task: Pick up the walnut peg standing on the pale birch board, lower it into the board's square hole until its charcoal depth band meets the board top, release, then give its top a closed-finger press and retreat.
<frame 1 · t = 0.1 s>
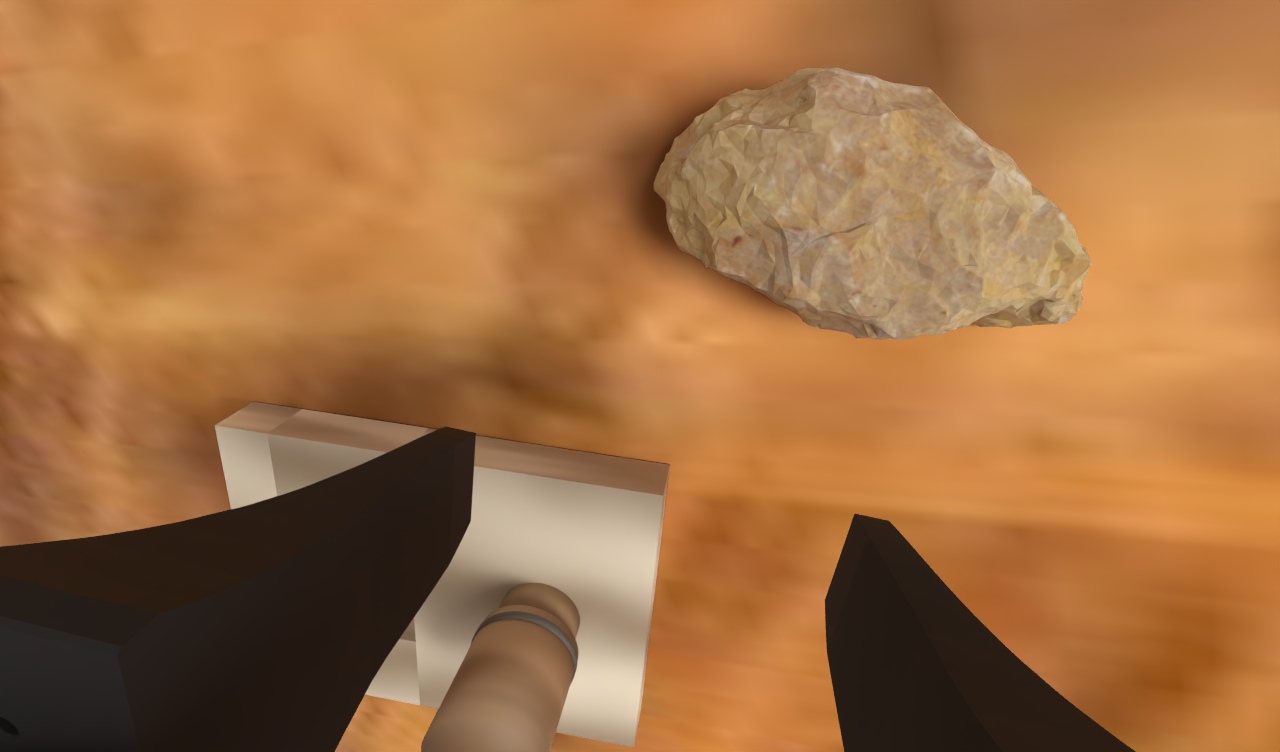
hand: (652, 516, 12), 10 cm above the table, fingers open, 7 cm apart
stone tool: (859, 206, 20), on the table
peg: (540, 615, 25), point 2 cm above the table, touching board
board: (458, 562, 27), on the table
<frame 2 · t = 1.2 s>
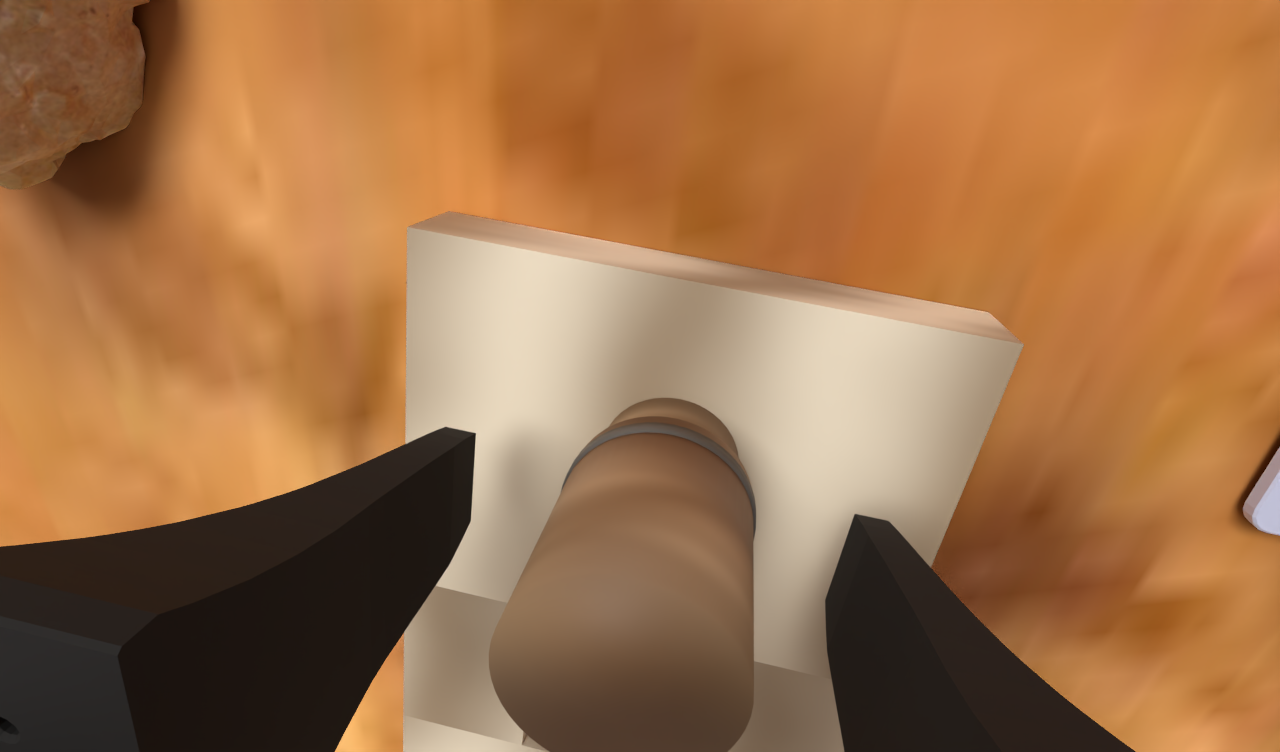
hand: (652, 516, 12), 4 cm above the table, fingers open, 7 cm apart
peg: (668, 460, 14), point 2 cm above the table, touching board
board: (652, 550, 18), on the table
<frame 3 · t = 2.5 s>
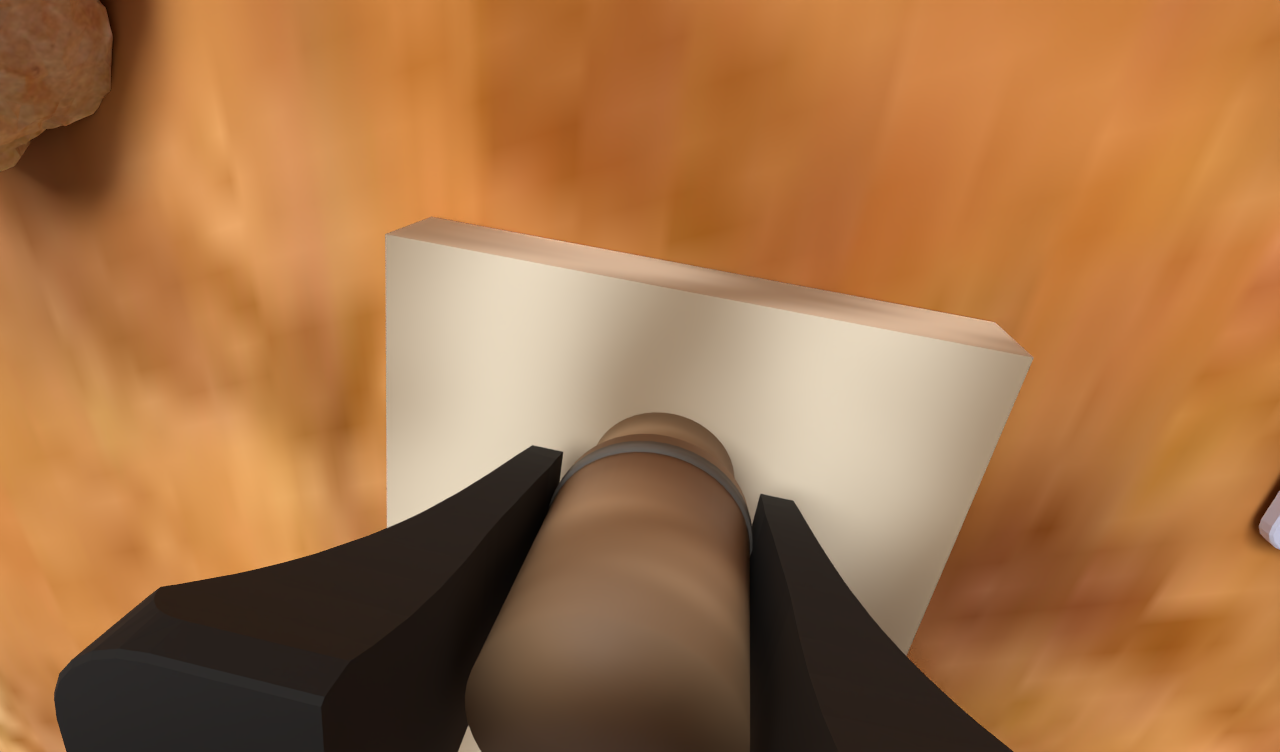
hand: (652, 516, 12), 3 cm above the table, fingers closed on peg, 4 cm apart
peg: (661, 477, 14), point 2 cm above the table, touching board, gripper
board: (645, 567, 17), on the table
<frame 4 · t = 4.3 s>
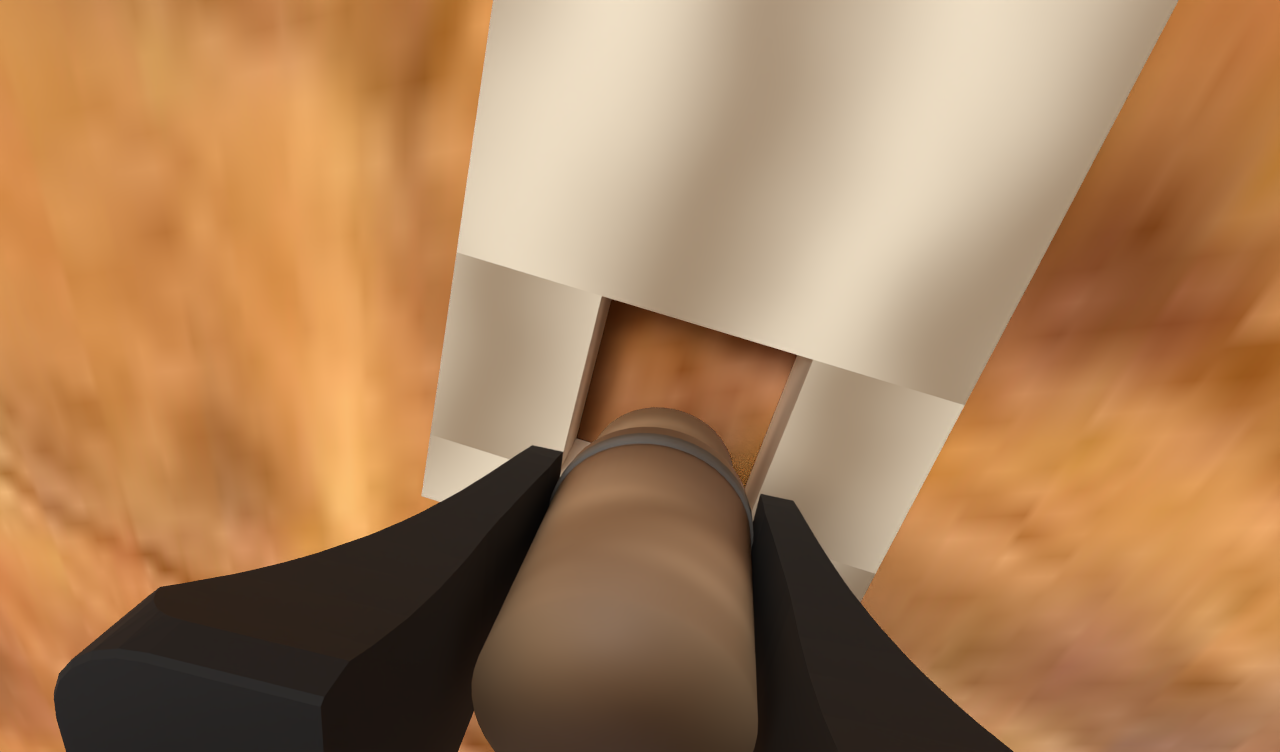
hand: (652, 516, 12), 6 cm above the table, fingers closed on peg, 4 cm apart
peg: (660, 473, 14), point 5 cm above the table, touching gripper
board: (723, 265, 16), on the table
when the fingers open (2 cm above the table, at t = 5.8 s): peg stays where it is, resting in board.
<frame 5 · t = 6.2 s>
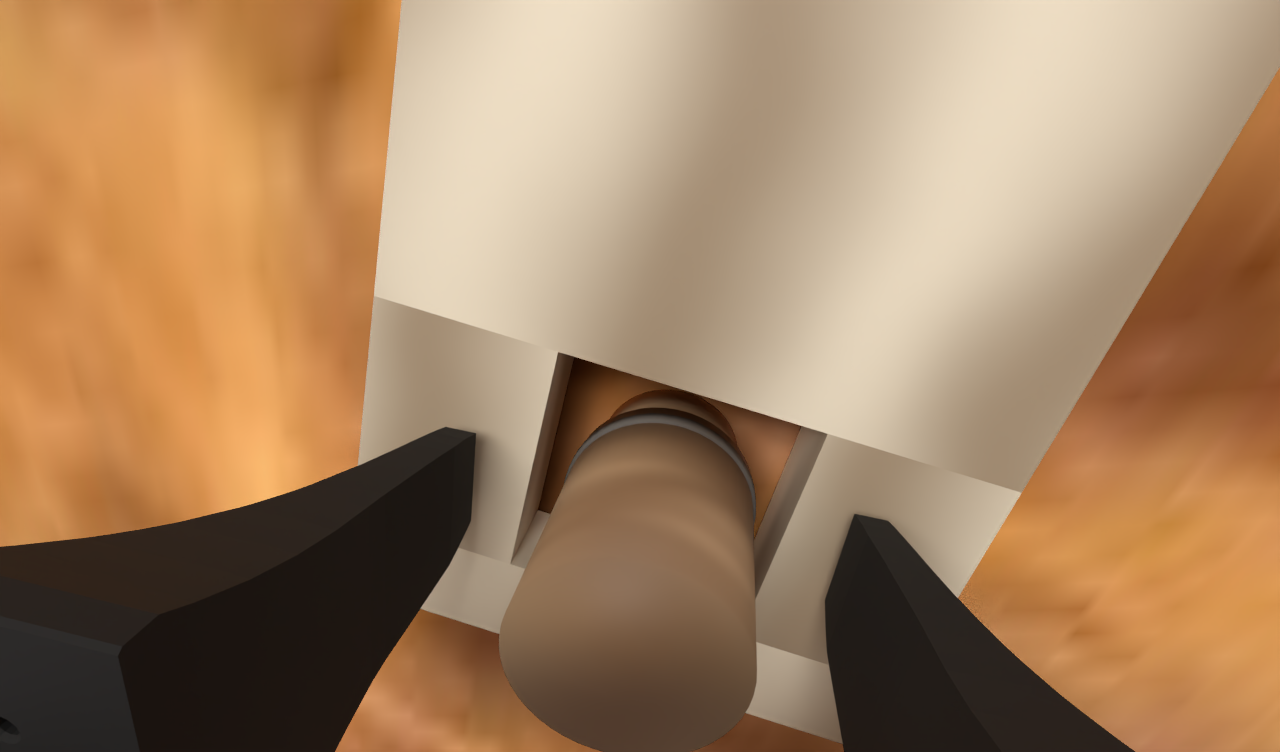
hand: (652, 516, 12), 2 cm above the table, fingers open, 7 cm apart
peg: (668, 451, 15), resting in board
board: (714, 308, 13), on the table
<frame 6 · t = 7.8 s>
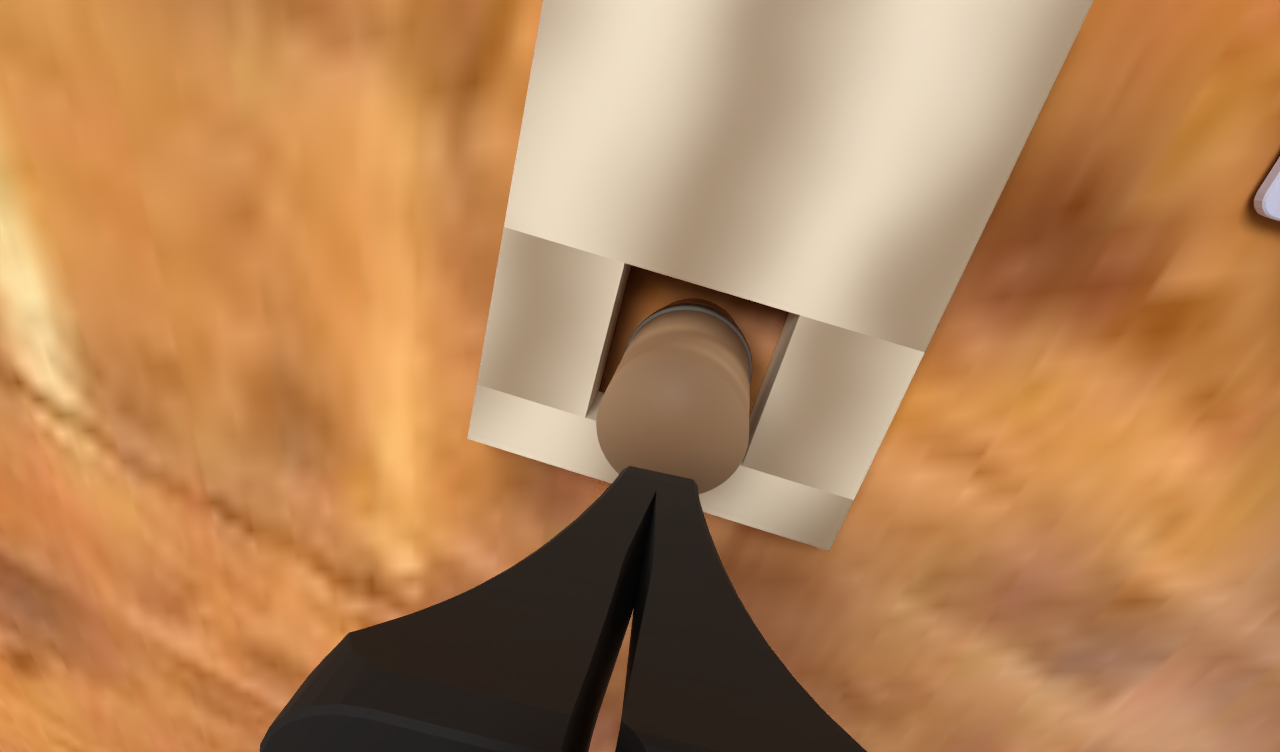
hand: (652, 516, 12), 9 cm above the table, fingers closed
peg: (693, 344, 21), resting in board
board: (725, 239, 20), on the table
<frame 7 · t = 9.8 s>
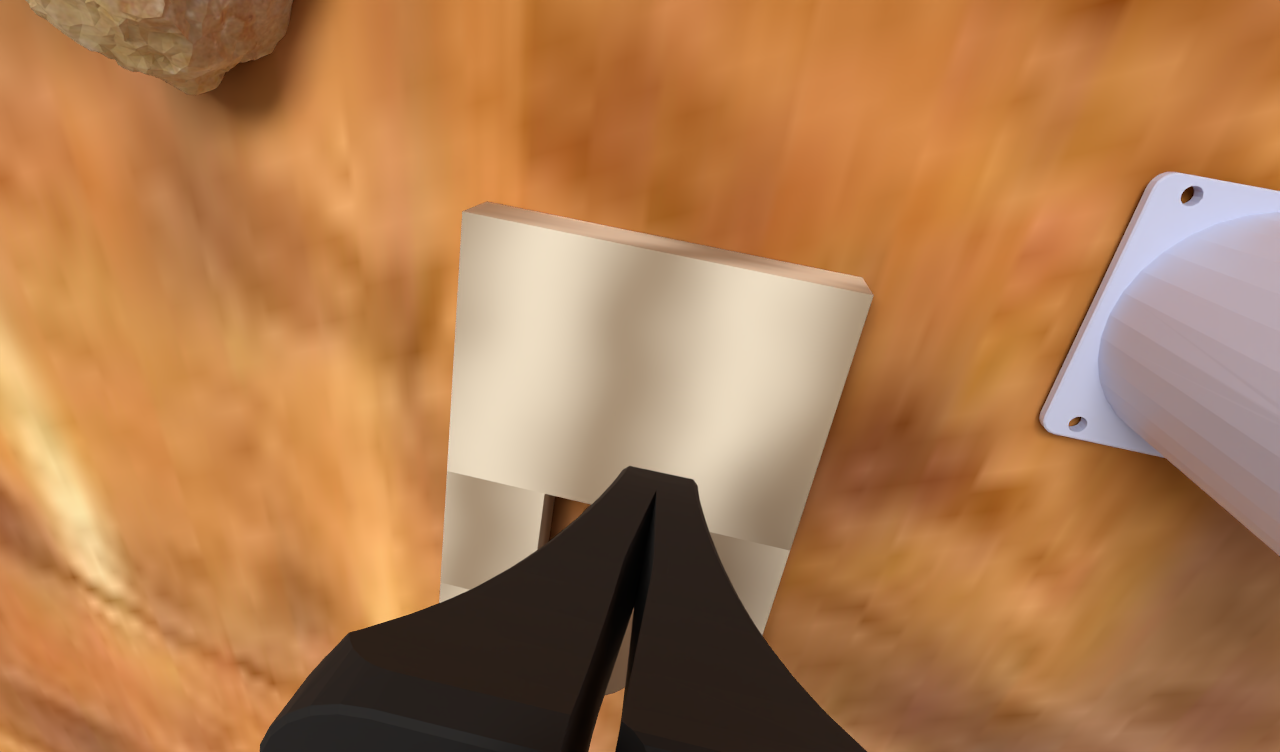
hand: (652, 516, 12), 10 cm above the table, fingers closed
peg: (616, 532, 25), resting in board
board: (629, 456, 24), on the table
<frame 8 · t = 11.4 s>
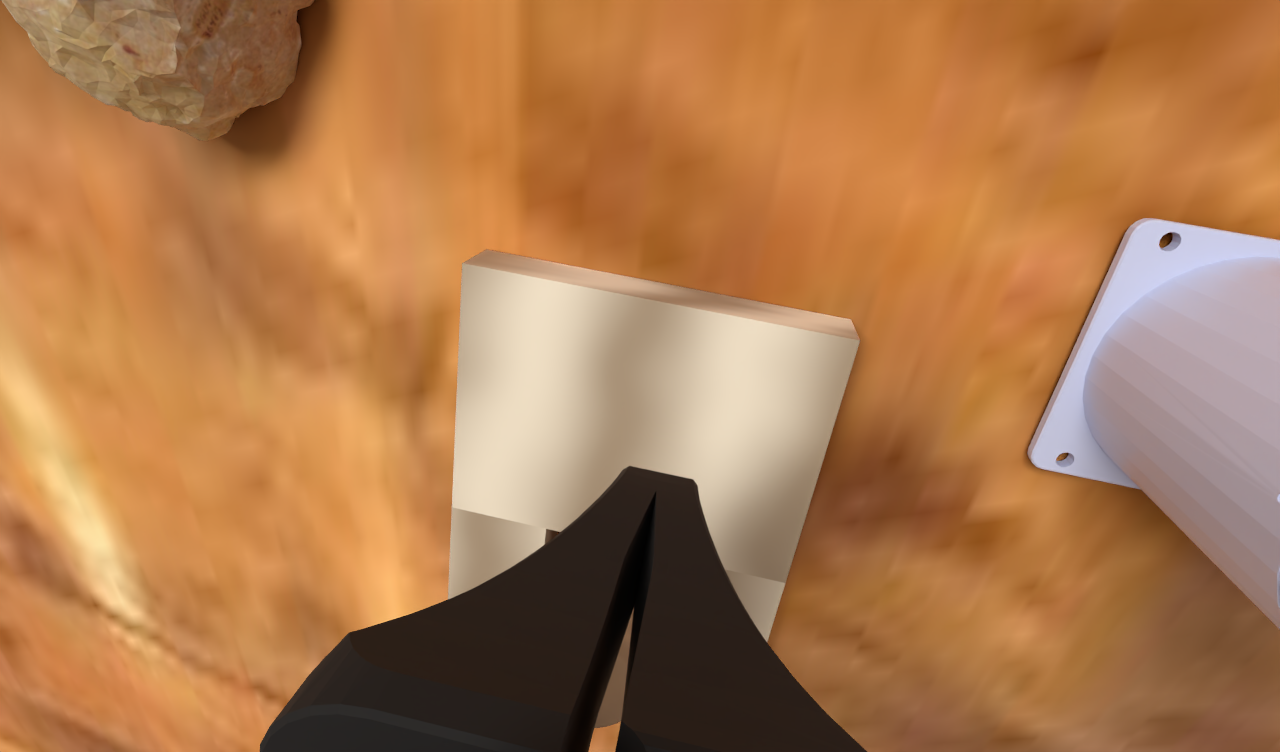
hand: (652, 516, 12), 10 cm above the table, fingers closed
peg: (617, 562, 26), resting in board
board: (628, 489, 25), on the table
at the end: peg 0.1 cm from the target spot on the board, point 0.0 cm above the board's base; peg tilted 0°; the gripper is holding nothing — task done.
